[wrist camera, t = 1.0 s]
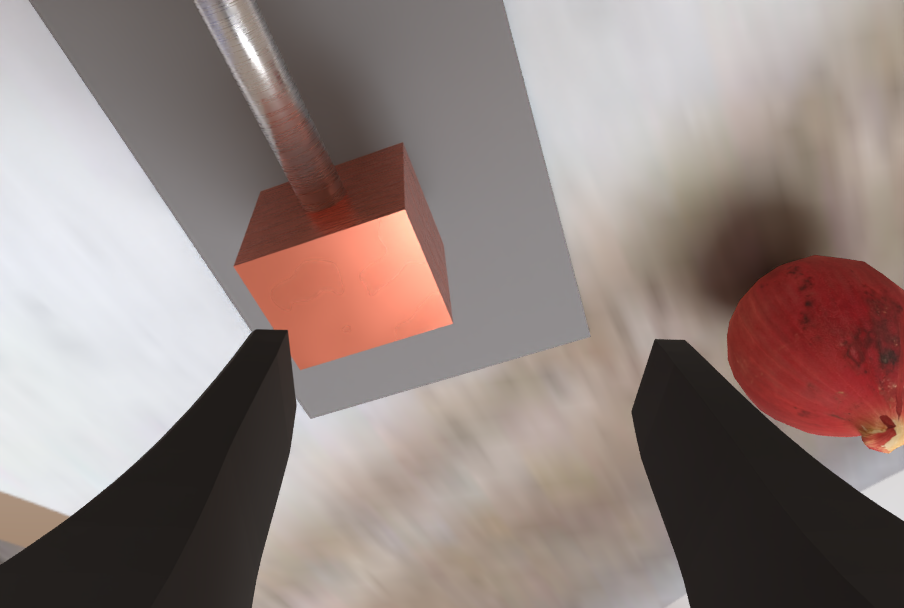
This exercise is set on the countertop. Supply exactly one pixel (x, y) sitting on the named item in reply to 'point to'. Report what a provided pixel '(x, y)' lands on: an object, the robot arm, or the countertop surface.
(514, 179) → the gray panel
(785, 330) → the onion
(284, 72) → the copper cube mallet
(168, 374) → the countertop surface
